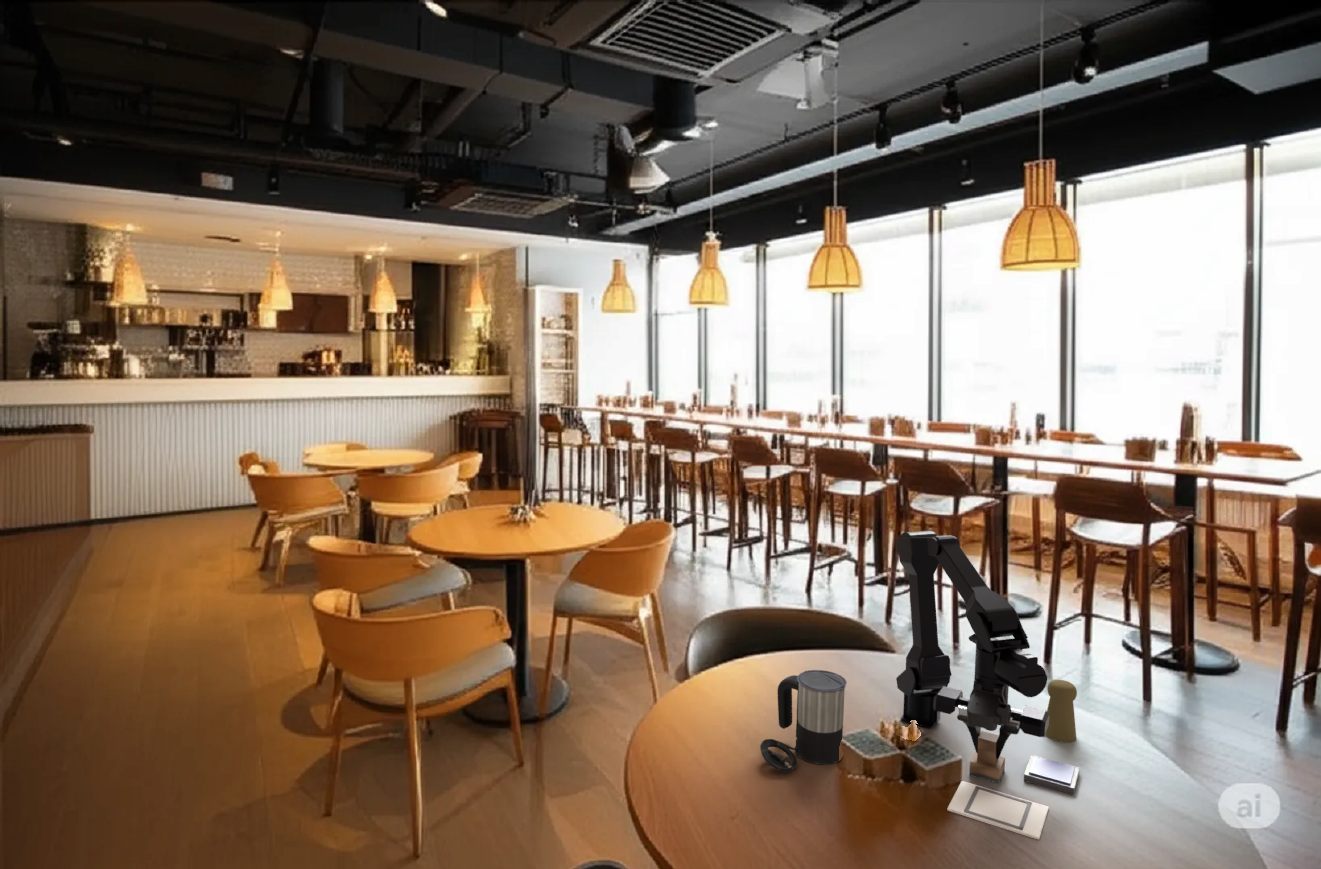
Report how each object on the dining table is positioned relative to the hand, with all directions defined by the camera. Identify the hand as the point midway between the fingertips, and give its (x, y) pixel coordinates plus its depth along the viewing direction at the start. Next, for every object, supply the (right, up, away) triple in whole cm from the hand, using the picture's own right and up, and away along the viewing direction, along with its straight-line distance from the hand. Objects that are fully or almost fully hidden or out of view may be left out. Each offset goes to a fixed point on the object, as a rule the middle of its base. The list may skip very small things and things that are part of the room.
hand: (987, 754), depth 142 cm
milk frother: (-33, -3, +6) cm, 33 cm away
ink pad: (+11, -4, -1) cm, 12 cm away
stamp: (0, -3, 0) cm, 3 cm away
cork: (+20, -2, +14) cm, 25 cm away
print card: (-3, -5, -11) cm, 12 cm away
